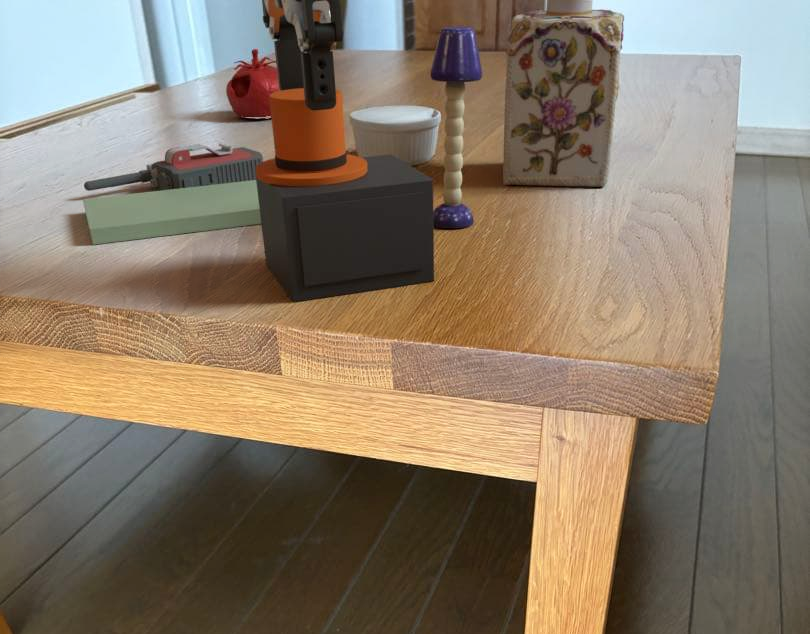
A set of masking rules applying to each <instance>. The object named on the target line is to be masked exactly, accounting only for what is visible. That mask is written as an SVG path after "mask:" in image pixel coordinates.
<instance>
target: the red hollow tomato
mask: <svg viewBox="0 0 810 634" xmlns="http://www.w3.org/2000/svg"><path fill="white" fill-rule="evenodd" d="M258 54H259V50H258V48H254V49H252V50H251V57H252V59H251V61H250V62H251V63H247V62H246V61H244V60H238V61H235V62H234V64H237V65H236V67H235V68H233V70H234V71H236V72H235V73H234V74H233V75H232V77H231V79H230V80H229V81H228V82H227V84H226V88H225V94H226V98H227V101H228V104H229V106H230V107H231V110H232V111H233V112H234V113H235V114H236V116H238V117H240V116H243V117H266V116H271V109H270V99H269V95H270V94H272V93H274V92H277V91H281V90H280V89H279V84H278V74H277V66H273V65H272V64H274V63H275V64H276V60H273V59H271V58H269V57H268V56H264V57H263V58H262V59H260V60H259V55H258ZM266 60H267V61H270V62H265V61H266ZM238 63H239V64H238Z"/></svg>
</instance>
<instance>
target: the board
mask: <svg viewBox="0 0 810 634" xmlns="http://www.w3.org/2000/svg"><path fill="white" fill-rule="evenodd" d="M82 203H83V207H84V212H85V216H86V220H87V225H88V229H89V234H90V239H91V242H92V245H93V246H95V245H102V244H112V243H118V242H127V241H128V242H129V241H136V240H142V239H151V238H158V237H159V238H160V237H167V236H168V237H169V236H176V235H183V234H190V233H198V232H199V233H200V232H207V231H215V230H223V229H232V228H239V227H247V226H255V225H261V217H260V208H259V200H258V191H257V183H256V180H251V181H242V182H233V183H224V184H215V185H206V186H197V187H188V188H179V189H170V190H154V191H145V192H136V193H128V194H127V193H125V194H116V195H108V196H100V197H91V198H90V197H89V198H83V199H82Z"/></svg>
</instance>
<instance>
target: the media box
mask: <svg viewBox="0 0 810 634" xmlns="http://www.w3.org/2000/svg"><path fill="white" fill-rule="evenodd" d="M363 159H365V160H366V161H367V166H368V171H367V173H366V174H365V175H363V176H362V177H360V178H357V179H354V180H351V181H347V182H343V183H338V184H331V185H323V186H307V187H294V186H280V185H273V184H268V183H265V182H262V181H260V180H259V179H257V177H256V183H257V191H258V200H259V208H260V217H261V224H260V225H261V233H262V242H263V248H264V258H265V264H266V267H267V269H268V270H269V271H270V272H271V273H272V275H273V276H274V278H275V279H276V280H277V282H278V283H279V284H280V286H281V287H282V289H283V291H284V292H285V293H286V294H287V295H288V297H289V298H290V300H291V301H292V302H293V303H296V302H303V301H309V300H316V299H322V298H329V297H336V296H342V295H349V294H355V293H362V292H368V291H376V290H382V289H389V288H395V287H396V288H397V287H404V286H410V285H416V284H422V283H423V284H424V283H431V282H434V281H435V255H434V254H435V241H434V238H435V237H434V235H435V230H434V229H435V228H434V227H435V226H434V223H433V211H434V180H433V178H431V177H430V176H428V175H427V174H425V173H423V172H421V171H419V170H417V168H414V167H413V166H410V165H408V164H406V163H405V162H403V161H401V160H400V159H398V158H396V157H395V156H393V155H382V156H372V157H363ZM255 175H256V169H255Z"/></svg>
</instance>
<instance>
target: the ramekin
mask: <svg viewBox="0 0 810 634" xmlns="http://www.w3.org/2000/svg"><path fill="white" fill-rule="evenodd" d="M441 122H442V114H441V112H440V111H439V110H437V109H435V108H432V107H427V106H420V105H385V106H374V107H368V108H362V109H359V110H355V111H352V112H350V114H349V125H350V126H351V127H352V133H353V140H354V144H355V150H356V154H357V156H358V157H361V158H363V157H372V156H382V155H393V156H395V157H396V158H398V159H400V160H401V161H403V162H405V163H406V164H408V165H410V166H411V167H413V166H418V165H423V164H425V163H427V162H429V161H431V160H432V158H433V156H435V153H436V148H437V141H438V136H439V127H440V124H441Z"/></svg>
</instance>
